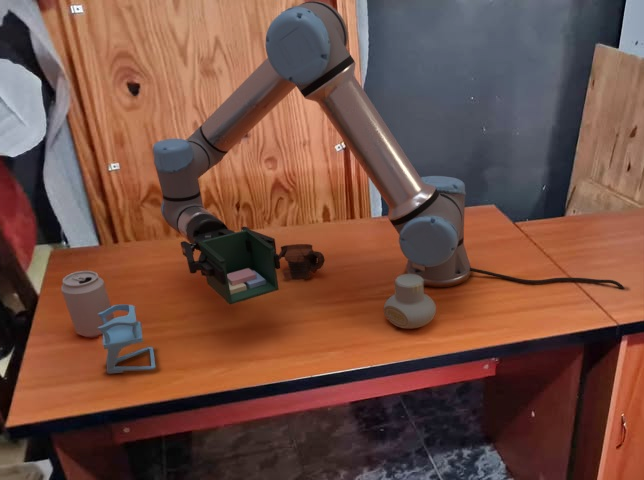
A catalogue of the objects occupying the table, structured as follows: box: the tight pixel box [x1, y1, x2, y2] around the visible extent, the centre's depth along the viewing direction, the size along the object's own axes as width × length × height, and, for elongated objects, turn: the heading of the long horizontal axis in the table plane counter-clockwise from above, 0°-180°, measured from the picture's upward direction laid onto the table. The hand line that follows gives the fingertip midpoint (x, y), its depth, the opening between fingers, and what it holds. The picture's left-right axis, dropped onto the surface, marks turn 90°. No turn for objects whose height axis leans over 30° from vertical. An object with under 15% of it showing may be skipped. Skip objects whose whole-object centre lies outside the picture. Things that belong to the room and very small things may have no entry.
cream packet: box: [229, 283, 247, 294], centre depth 131 cm, size 5×3×1 cm
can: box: [60, 270, 116, 338], centre depth 134 cm, size 8×8×12 cm
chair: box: [98, 303, 157, 375], centre depth 125 cm, size 8×8×12 cm
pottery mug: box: [278, 243, 326, 281], centre depth 160 cm, size 12×10×8 cm
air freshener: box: [383, 273, 437, 330], centre depth 141 cm, size 11×8×10 cm
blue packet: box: [244, 271, 266, 289], centre depth 133 cm, size 5×3×1 cm
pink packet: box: [227, 268, 257, 286], centre depth 132 cm, size 5×3×1 cm
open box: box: [198, 228, 280, 306], centre depth 130 cm, size 10×10×9 cm
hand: (251, 269), depth 126 cm, fingers closed on open box, 10 cm apart
